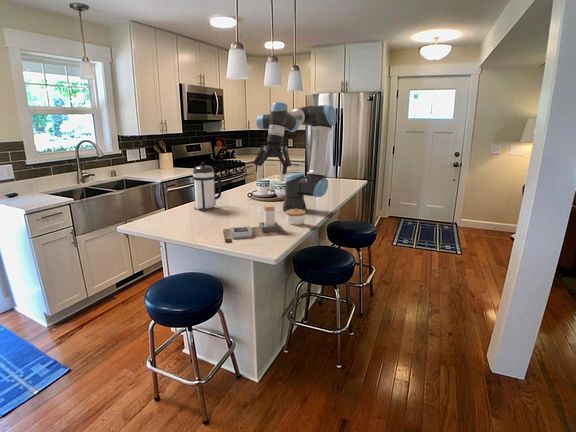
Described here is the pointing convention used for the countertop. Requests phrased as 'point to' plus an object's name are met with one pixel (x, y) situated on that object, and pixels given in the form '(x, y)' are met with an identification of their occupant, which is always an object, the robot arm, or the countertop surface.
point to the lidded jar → (295, 216)
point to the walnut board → (254, 233)
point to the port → (241, 232)
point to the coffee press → (205, 187)
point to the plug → (269, 215)
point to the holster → (269, 227)
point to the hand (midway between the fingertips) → (269, 180)
